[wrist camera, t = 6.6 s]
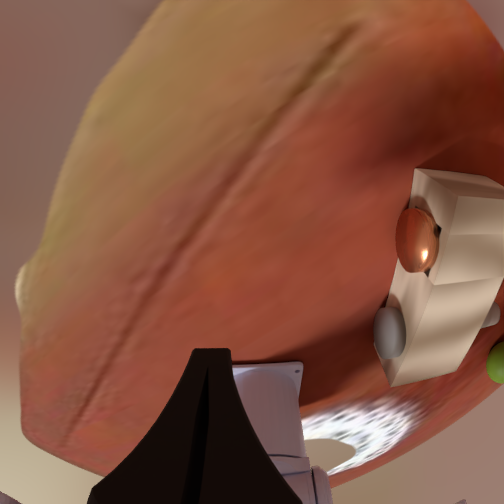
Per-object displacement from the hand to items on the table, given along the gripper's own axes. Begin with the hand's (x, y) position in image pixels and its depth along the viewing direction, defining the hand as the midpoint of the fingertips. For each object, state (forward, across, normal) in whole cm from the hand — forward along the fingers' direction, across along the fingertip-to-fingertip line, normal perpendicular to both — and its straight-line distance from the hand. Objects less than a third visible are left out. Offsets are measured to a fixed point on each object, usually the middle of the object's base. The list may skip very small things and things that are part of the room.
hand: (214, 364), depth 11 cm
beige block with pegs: (+10, -18, +3) cm, 21 cm away
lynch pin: (+9, -18, -1) cm, 20 cm away
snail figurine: (+10, -33, +17) cm, 38 cm away
